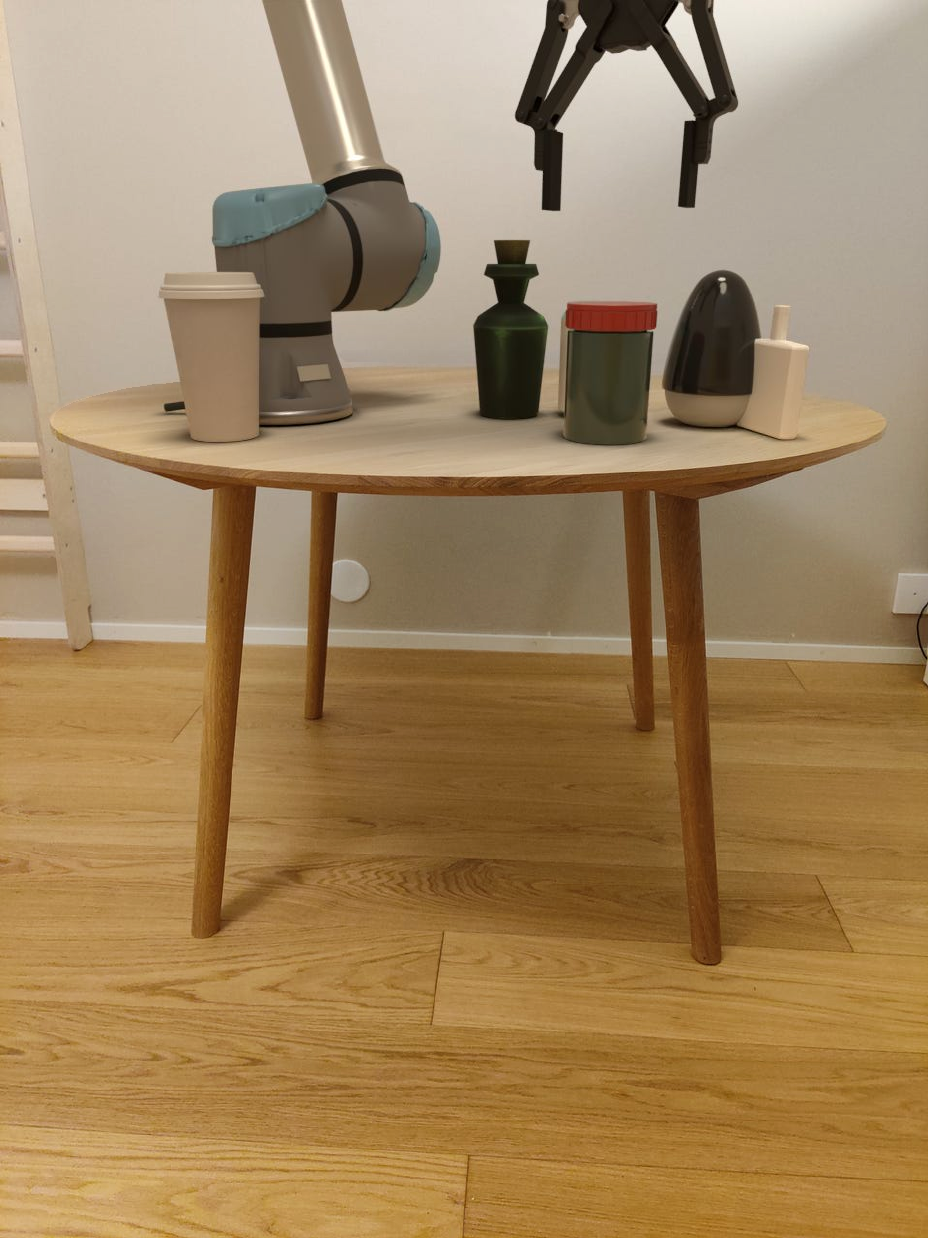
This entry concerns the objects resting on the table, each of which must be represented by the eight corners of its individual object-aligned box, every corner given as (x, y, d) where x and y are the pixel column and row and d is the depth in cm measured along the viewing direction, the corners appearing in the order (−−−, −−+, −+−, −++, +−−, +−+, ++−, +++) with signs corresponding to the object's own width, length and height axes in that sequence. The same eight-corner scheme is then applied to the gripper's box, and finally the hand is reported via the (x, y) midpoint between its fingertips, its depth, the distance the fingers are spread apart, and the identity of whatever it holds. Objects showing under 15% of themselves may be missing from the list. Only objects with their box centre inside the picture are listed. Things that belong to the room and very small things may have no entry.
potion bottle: (458, 413, 103) (457, 240, 97) (514, 406, 108) (517, 240, 101) (502, 423, 97) (505, 239, 91) (560, 415, 102) (567, 239, 95)
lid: (551, 329, 84) (552, 303, 84) (584, 323, 91) (585, 300, 91) (640, 332, 81) (641, 306, 80) (667, 326, 88) (668, 302, 87)
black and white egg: (737, 414, 103) (752, 268, 97) (774, 430, 93) (793, 269, 87) (647, 415, 102) (657, 268, 96) (675, 432, 92) (688, 270, 87)
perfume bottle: (798, 438, 89) (818, 308, 84) (780, 439, 88) (799, 308, 84) (751, 424, 96) (767, 303, 92) (734, 425, 96) (750, 303, 91)
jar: (550, 440, 88) (555, 310, 84) (580, 427, 95) (586, 306, 91) (630, 447, 85) (639, 313, 81) (656, 434, 91) (665, 308, 87)
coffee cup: (241, 424, 96) (228, 271, 91) (294, 436, 90) (283, 272, 85) (156, 435, 90) (136, 272, 85) (206, 449, 84) (188, 273, 78)
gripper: (478, -74, 77) (477, 209, 85) (778, -126, 66) (744, 203, 74) (516, -49, 83) (511, 213, 91) (796, -94, 72) (763, 207, 80)
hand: (616, 209), depth 82 cm, fingers open, 12 cm apart
